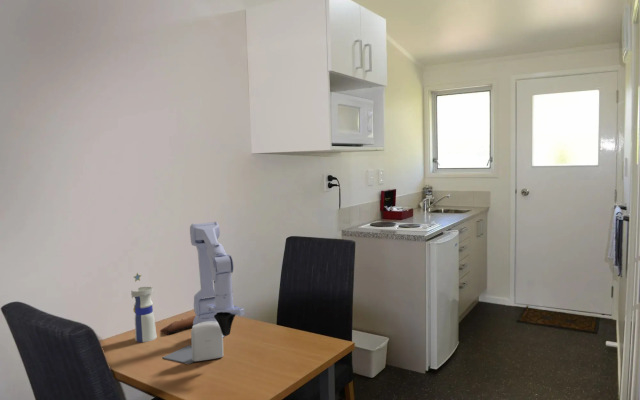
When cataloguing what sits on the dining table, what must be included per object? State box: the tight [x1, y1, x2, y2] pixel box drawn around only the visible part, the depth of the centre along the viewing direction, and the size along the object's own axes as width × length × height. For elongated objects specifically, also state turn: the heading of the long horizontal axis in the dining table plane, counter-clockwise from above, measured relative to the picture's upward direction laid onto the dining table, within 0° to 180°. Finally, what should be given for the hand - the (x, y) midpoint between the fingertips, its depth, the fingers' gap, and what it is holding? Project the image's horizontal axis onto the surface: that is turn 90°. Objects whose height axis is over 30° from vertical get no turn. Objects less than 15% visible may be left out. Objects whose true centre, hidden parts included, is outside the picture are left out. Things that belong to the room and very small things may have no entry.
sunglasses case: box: [160, 315, 196, 336], centre depth 192 cm, size 18×7×7 cm, turn 134°
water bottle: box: [130, 272, 158, 343], centre depth 180 cm, size 8×8×25 cm
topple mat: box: [162, 344, 196, 365], centre depth 162 cm, size 12×12×1 cm
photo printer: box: [190, 321, 224, 362], centre depth 157 cm, size 10×4×12 cm, turn 110°
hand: (226, 334), depth 152 cm, fingers closed
